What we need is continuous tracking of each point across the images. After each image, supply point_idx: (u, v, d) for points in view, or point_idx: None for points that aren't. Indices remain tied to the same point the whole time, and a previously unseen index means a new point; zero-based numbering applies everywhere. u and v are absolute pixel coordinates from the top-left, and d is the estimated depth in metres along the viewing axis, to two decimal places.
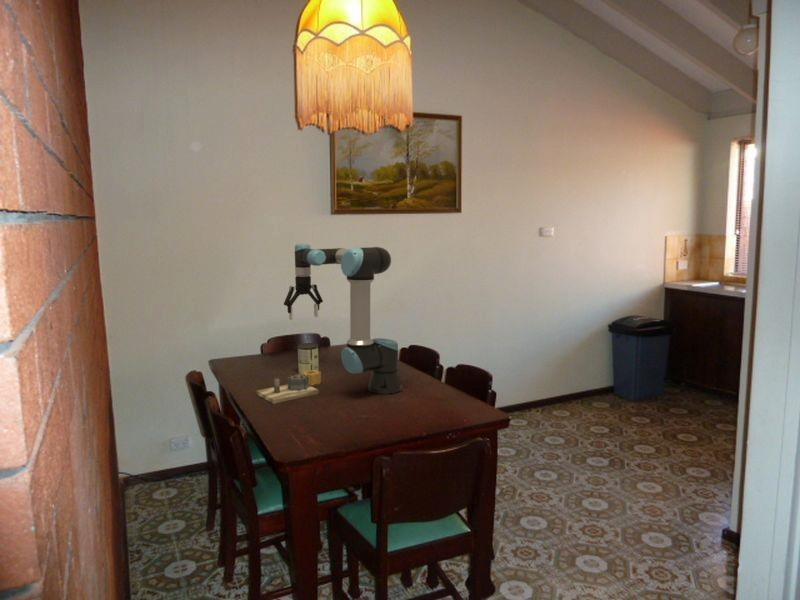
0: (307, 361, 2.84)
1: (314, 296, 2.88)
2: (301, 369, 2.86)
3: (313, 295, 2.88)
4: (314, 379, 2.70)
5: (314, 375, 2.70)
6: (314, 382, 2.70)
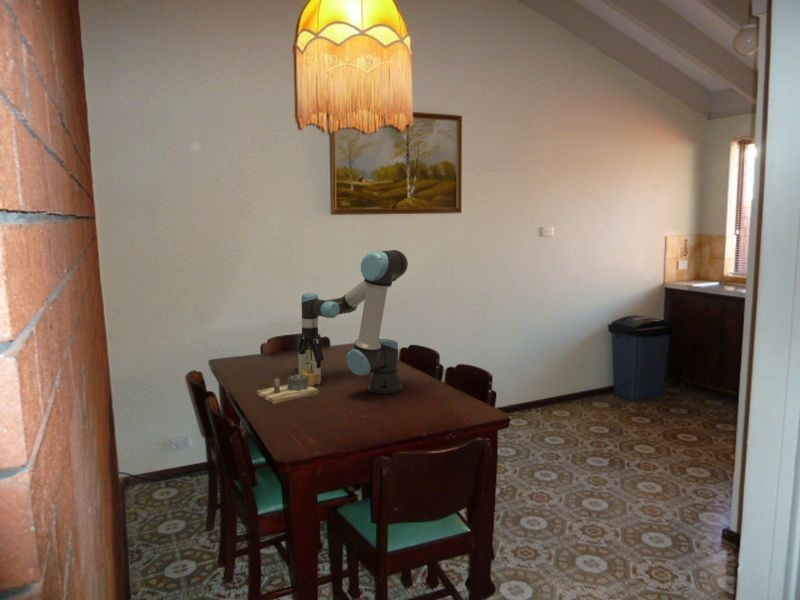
0: (307, 361, 2.84)
1: (313, 351, 2.66)
2: (301, 369, 2.86)
3: (313, 350, 2.66)
4: (314, 379, 2.70)
5: (314, 375, 2.70)
6: (314, 382, 2.70)
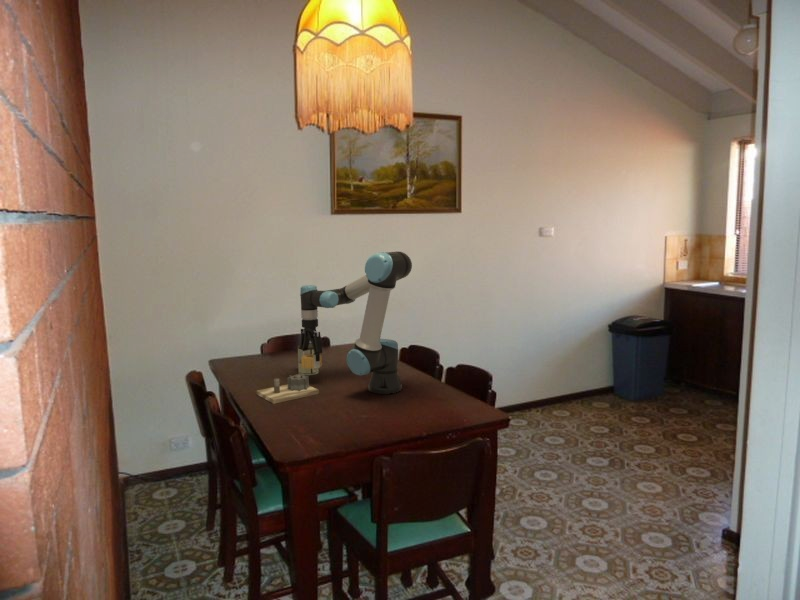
0: None
1: (313, 344, 2.66)
2: (301, 369, 2.86)
3: (312, 343, 2.66)
4: None
5: None
6: None
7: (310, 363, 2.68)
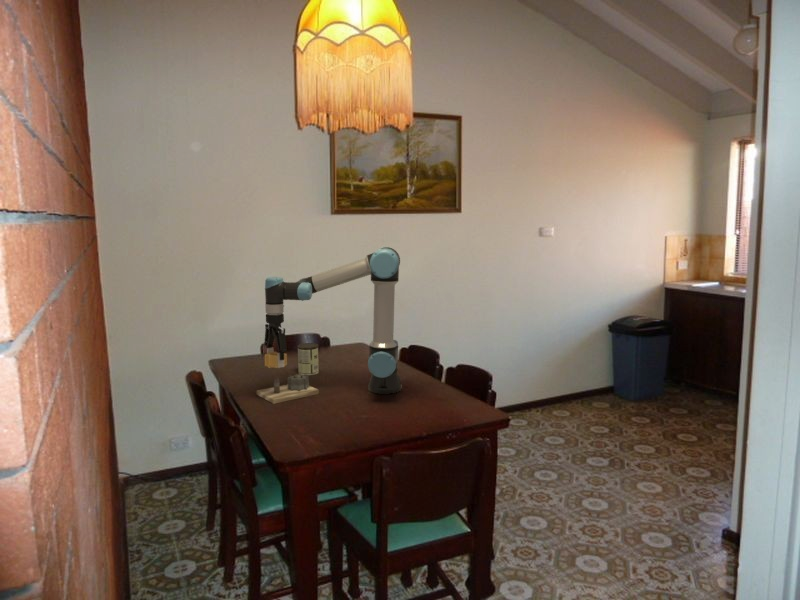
0: (307, 361, 2.84)
1: (277, 341, 2.44)
2: (301, 369, 2.86)
3: (276, 340, 2.45)
4: None
5: None
6: None
7: (274, 362, 2.46)
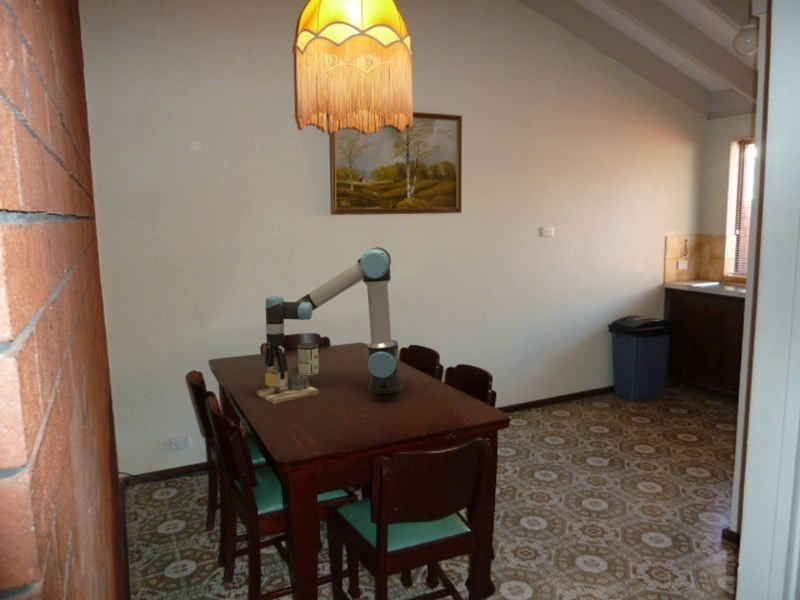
0: (307, 361, 2.84)
1: (278, 361, 2.46)
2: (301, 369, 2.86)
3: (277, 359, 2.46)
4: None
5: None
6: None
7: (274, 381, 2.48)
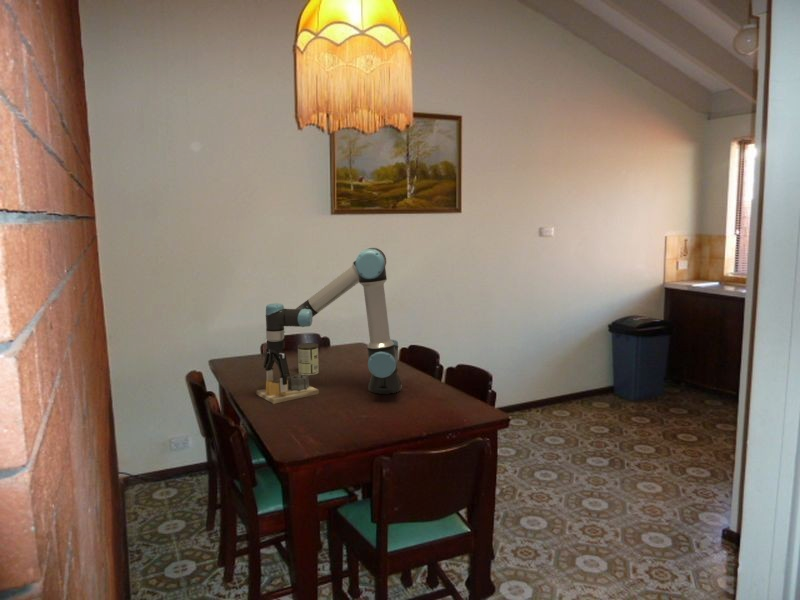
0: (307, 361, 2.84)
1: (279, 367, 2.45)
2: (301, 369, 2.86)
3: (278, 365, 2.46)
4: (280, 389, 2.49)
5: None
6: (280, 392, 2.49)
7: (275, 389, 2.48)
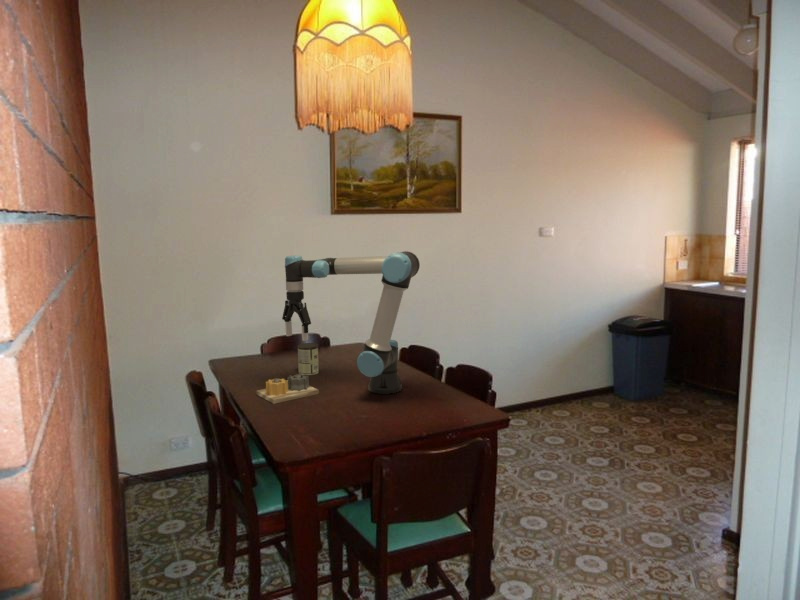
0: (307, 361, 2.84)
1: (300, 316, 2.52)
2: (301, 369, 2.86)
3: (299, 314, 2.53)
4: (280, 389, 2.49)
5: (280, 384, 2.49)
6: (280, 392, 2.49)
7: (275, 389, 2.48)
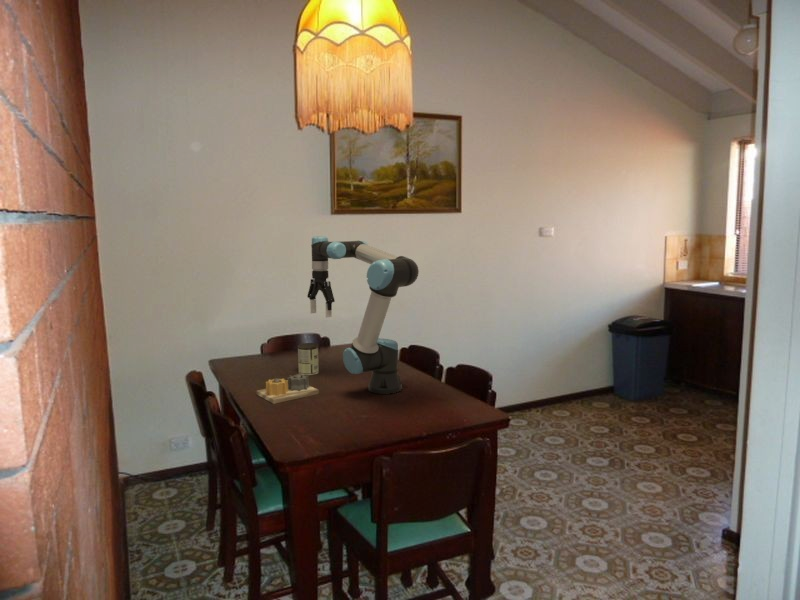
0: (307, 361, 2.84)
1: (324, 294, 2.66)
2: (301, 369, 2.86)
3: (323, 292, 2.66)
4: (280, 389, 2.49)
5: (280, 384, 2.49)
6: (280, 392, 2.49)
7: (275, 389, 2.48)
